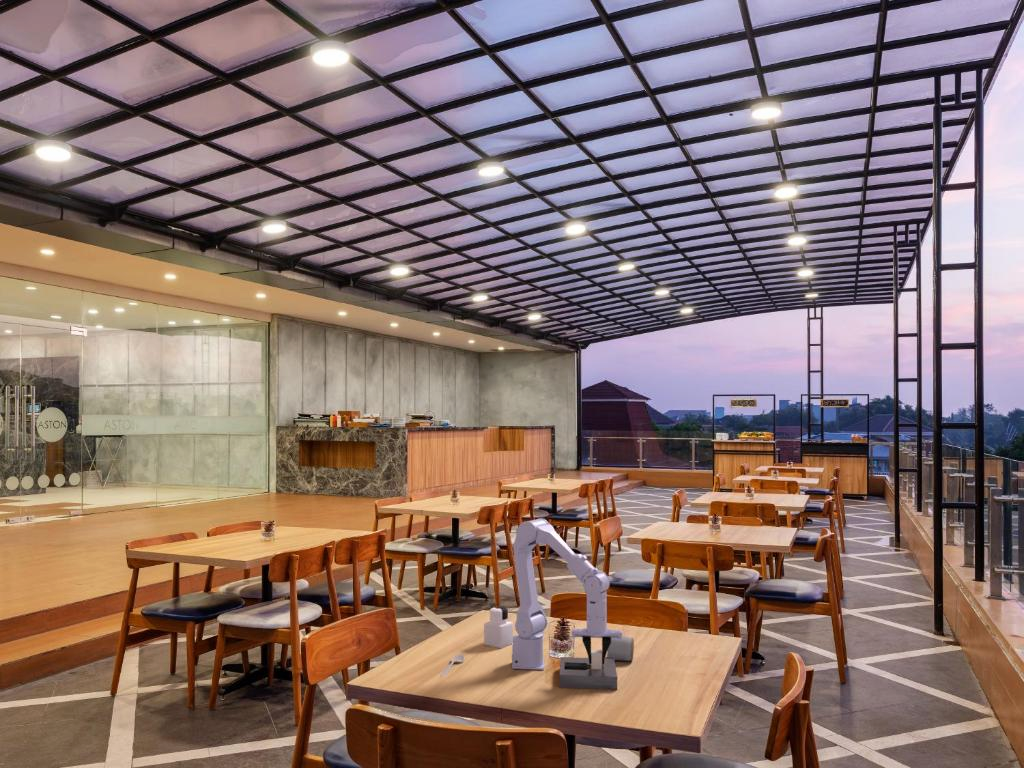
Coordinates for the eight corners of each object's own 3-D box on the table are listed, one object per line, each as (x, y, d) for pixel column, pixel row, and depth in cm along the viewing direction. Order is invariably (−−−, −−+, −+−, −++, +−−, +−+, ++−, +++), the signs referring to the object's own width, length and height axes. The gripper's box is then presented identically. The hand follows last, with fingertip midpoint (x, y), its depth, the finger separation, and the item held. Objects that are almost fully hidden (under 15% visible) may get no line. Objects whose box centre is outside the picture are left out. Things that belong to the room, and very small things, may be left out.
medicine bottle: (496, 639, 258) (496, 604, 258) (513, 643, 254) (513, 607, 254) (483, 644, 252) (483, 608, 253) (500, 648, 248) (501, 611, 248)
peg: (587, 682, 217) (587, 654, 217) (586, 675, 222) (586, 648, 223) (606, 683, 216) (606, 654, 217) (605, 676, 222) (605, 648, 222)
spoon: (467, 659, 237) (467, 654, 238) (444, 681, 217) (444, 676, 218) (454, 658, 238) (454, 653, 239) (431, 680, 219) (431, 674, 219)
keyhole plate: (559, 687, 212) (559, 674, 212) (560, 668, 228) (560, 657, 228) (617, 689, 211) (617, 676, 211) (614, 670, 227) (614, 658, 227)
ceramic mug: (633, 664, 233) (633, 638, 234) (606, 662, 235) (607, 637, 235) (634, 654, 244) (634, 630, 244) (608, 653, 245) (608, 628, 246)
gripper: (571, 618, 217) (571, 666, 216) (622, 619, 216) (622, 668, 215) (571, 612, 224) (571, 658, 223) (621, 613, 223) (621, 660, 222)
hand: (596, 663), depth 220 cm, fingers closed on peg, 3 cm apart
